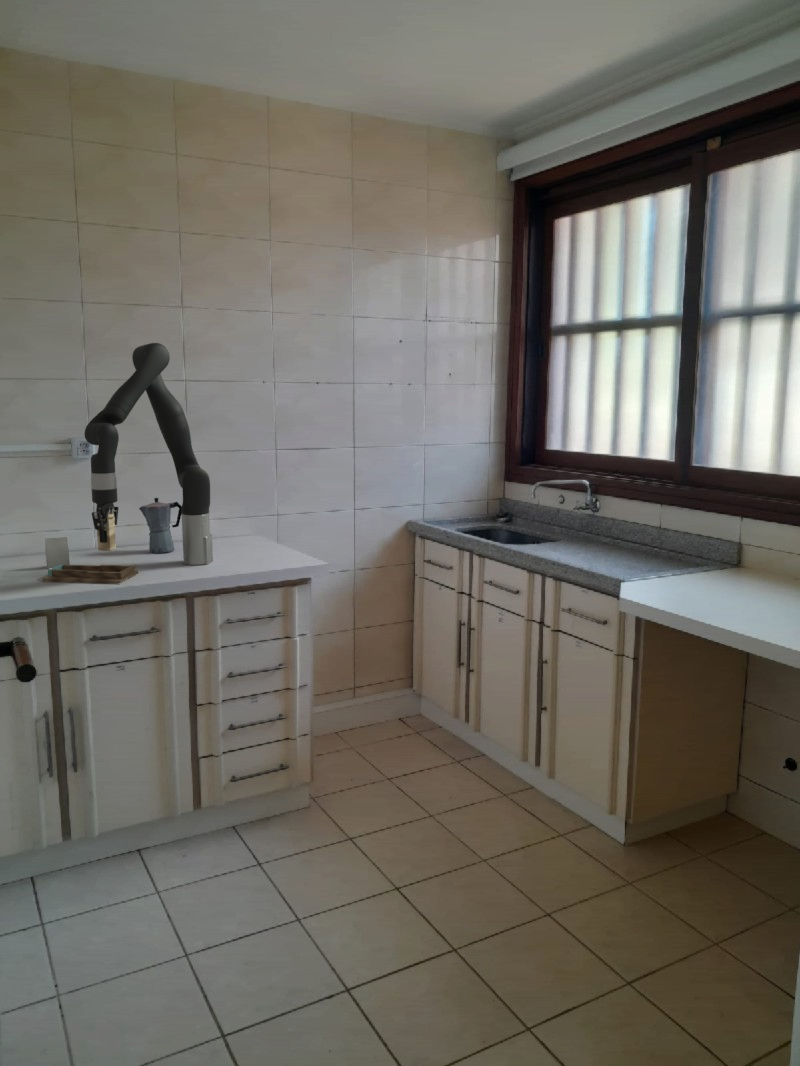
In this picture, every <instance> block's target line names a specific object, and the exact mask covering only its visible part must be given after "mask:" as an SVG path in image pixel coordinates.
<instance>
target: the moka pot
mask: <svg viewBox="0 0 800 1066" xmlns="http://www.w3.org/2000/svg"><path fill="white" fill-rule="evenodd" d="M153 500H154V502H152V503H148V504H145V505H141V506H140V507H138V510H139V511H140V512H141V513H142V515H143V516H144V518H145V521H146V524H147V527H148V528H149V529H148V531H149V533H148V535H149V548H148V549H149V553H151V554H164V553H171V552H173V551H174V550H175V544H174V540H173V536H172V533H171V527H172V528H177V527H179V526H180V522H181V519H182V512H181V507H182V505H181V503H180V504H179V502H178V501H175V502H168V503H165V502H160V501H159V498H158V497H153ZM175 508H178V513H177V518H176V522H175V524H172V525H171V510H172V509H175Z"/></svg>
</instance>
